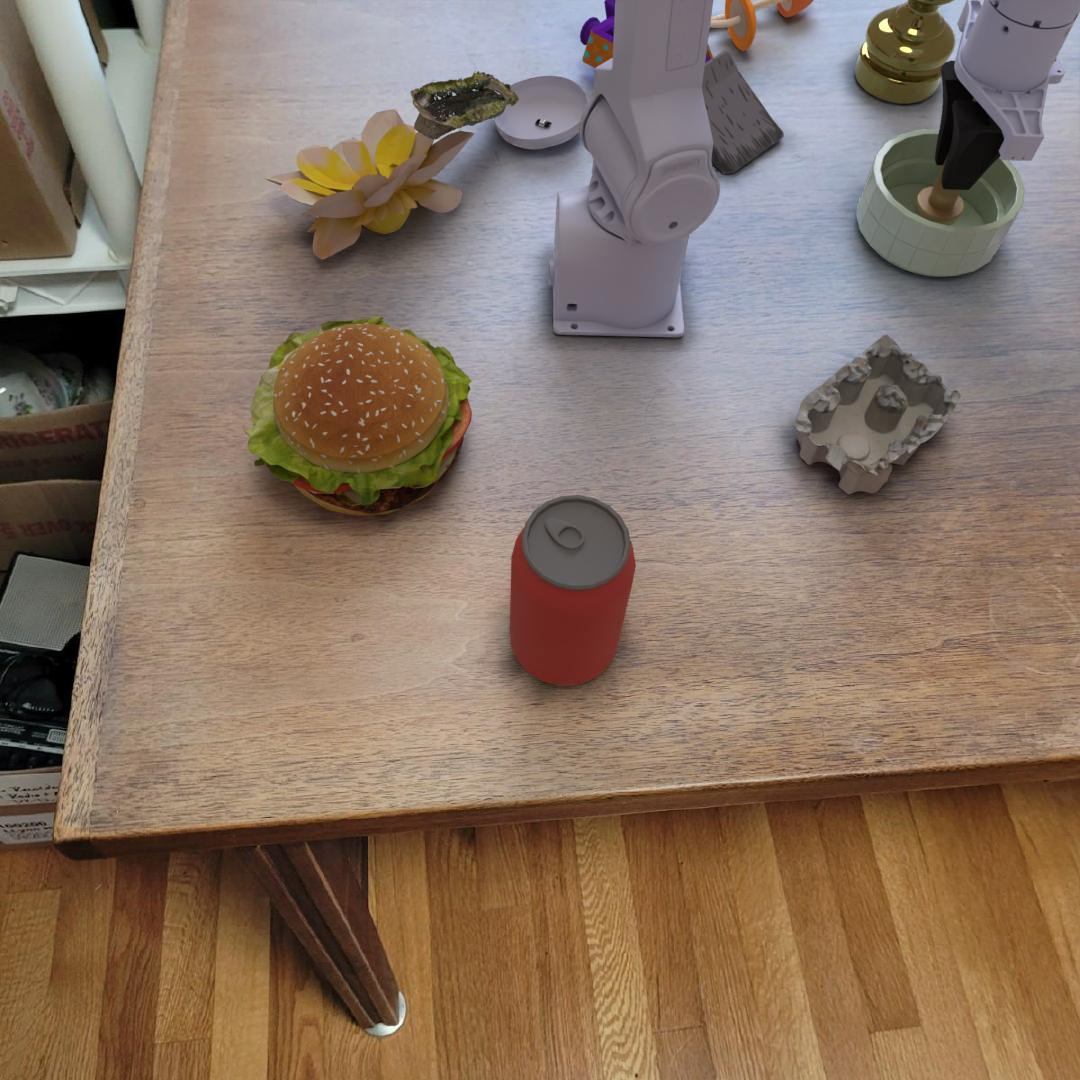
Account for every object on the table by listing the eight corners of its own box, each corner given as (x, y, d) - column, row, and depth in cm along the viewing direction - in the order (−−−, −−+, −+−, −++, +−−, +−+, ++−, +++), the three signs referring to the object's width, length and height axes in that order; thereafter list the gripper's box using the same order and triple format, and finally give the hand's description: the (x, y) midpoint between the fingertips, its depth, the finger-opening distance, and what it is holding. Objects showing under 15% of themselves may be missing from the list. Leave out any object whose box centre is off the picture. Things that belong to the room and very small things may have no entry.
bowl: (866, 279, 79) (887, 230, 75) (844, 178, 85) (863, 126, 81) (1011, 283, 80) (1040, 234, 75) (980, 182, 85) (1005, 131, 81)
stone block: (546, 104, 83) (497, 113, 86) (533, 46, 81) (483, 58, 84) (447, 151, 74) (395, 160, 77) (429, 87, 72) (377, 99, 75)
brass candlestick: (838, 60, 93) (873, -52, 84) (913, 47, 94) (955, -65, 85) (876, 112, 89) (916, 2, 81) (952, 98, 91) (1000, -13, 82)
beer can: (555, 571, 66) (566, 464, 55) (639, 633, 64) (666, 533, 53) (487, 644, 63) (484, 545, 53) (572, 711, 61) (587, 622, 51)
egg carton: (859, 511, 69) (878, 477, 65) (774, 441, 71) (788, 404, 68) (956, 425, 73) (979, 388, 69) (871, 361, 75) (889, 323, 72)
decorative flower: (430, 108, 84) (429, 15, 75) (496, 219, 82) (502, 137, 72) (258, 176, 81) (233, 88, 72) (321, 293, 79) (304, 217, 69)
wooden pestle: (918, 225, 80) (977, 95, 70) (910, 192, 81) (966, 61, 72) (964, 227, 80) (1030, 97, 70) (955, 194, 82) (1018, 63, 72)
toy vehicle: (722, 181, 84) (741, 5, 71) (547, 70, 93) (536, -105, 80) (793, 130, 87) (824, -49, 74) (617, 27, 96) (617, -150, 83)
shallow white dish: (526, 86, 90) (523, 66, 88) (607, 109, 87) (606, 89, 85) (476, 143, 86) (472, 124, 85) (559, 169, 84) (557, 150, 82)
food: (331, 336, 75) (314, 253, 68) (503, 412, 72) (504, 334, 65) (215, 476, 68) (183, 400, 61) (399, 566, 65) (387, 497, 59)
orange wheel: (683, 20, 87) (857, -15, 87) (658, -50, 89) (827, -83, 90) (675, 86, 93) (836, 53, 94) (652, 20, 96) (809, -11, 97)
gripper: (1127, 76, 62) (1027, 246, 74) (1066, -62, 70) (984, 112, 81) (1011, 73, 62) (929, 243, 74) (962, -66, 70) (895, 109, 81)
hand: (952, 174), depth 78 cm, fingers closed on wooden pestle, 2 cm apart
